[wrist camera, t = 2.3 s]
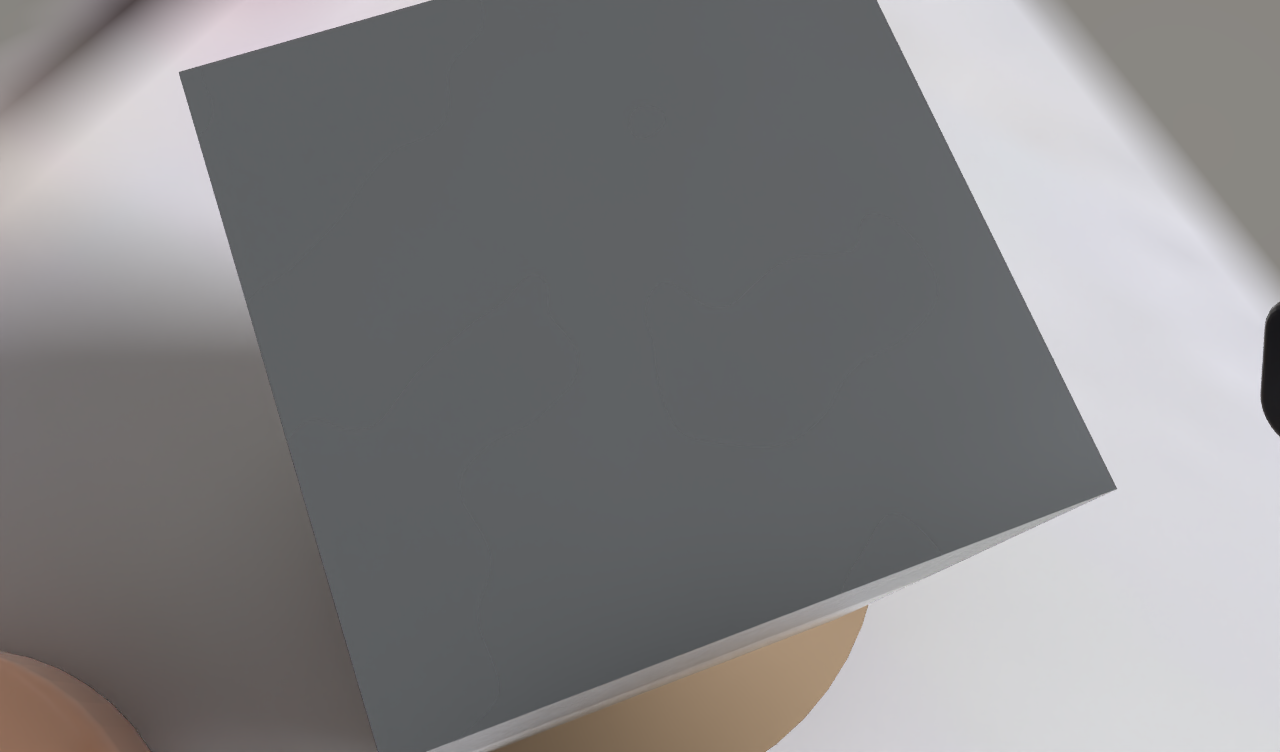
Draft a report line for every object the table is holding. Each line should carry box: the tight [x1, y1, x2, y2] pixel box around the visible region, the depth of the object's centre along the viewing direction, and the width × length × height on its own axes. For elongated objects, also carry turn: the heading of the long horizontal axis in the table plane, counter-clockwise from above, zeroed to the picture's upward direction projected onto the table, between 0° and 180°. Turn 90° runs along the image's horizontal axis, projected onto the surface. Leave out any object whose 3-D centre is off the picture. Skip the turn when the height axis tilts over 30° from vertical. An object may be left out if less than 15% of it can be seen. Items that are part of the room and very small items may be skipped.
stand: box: [490, 605, 868, 752], centre depth 16 cm, size 7×7×2 cm
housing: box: [179, 0, 1117, 752], centre depth 11 cm, size 4×4×8 cm
